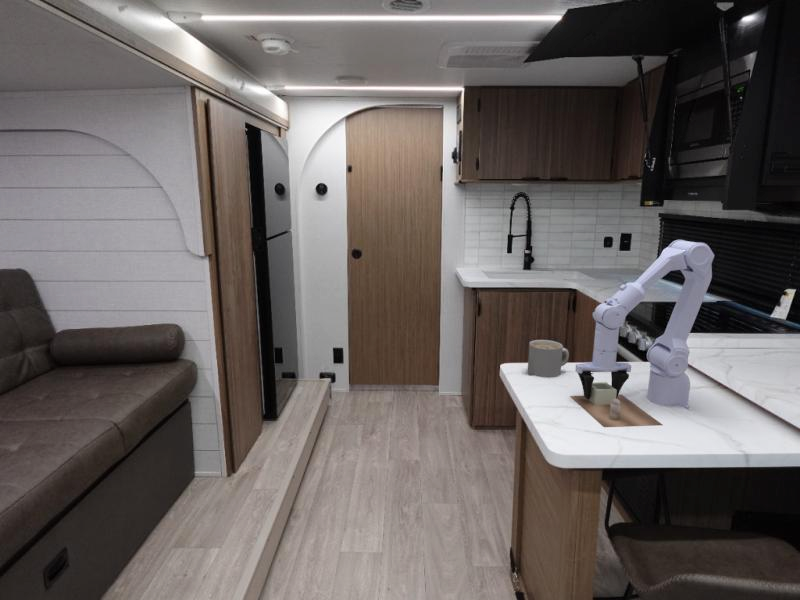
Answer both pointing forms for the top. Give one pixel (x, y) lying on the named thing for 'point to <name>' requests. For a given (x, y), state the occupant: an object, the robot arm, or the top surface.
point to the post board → (624, 416)
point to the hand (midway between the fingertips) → (600, 397)
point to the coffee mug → (546, 358)
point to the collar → (602, 393)
